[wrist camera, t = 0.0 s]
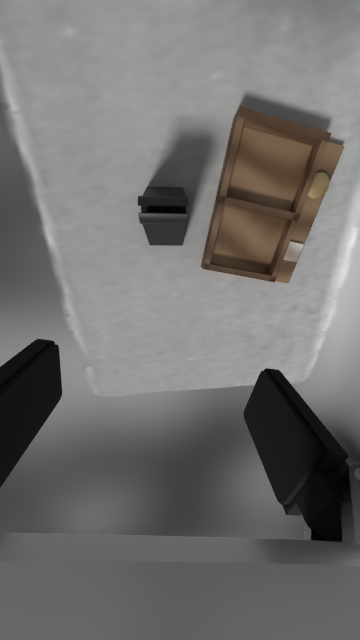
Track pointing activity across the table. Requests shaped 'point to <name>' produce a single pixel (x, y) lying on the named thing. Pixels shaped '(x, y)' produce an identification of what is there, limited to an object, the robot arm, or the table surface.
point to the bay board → (268, 196)
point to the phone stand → (163, 215)
